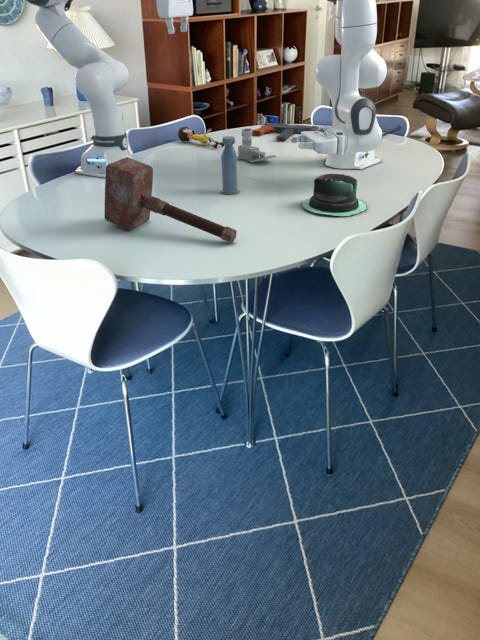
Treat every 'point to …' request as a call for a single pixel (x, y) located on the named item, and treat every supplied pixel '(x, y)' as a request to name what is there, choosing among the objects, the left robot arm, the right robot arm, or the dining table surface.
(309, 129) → the submachine gun
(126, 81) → the left robot arm
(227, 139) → the cap
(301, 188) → the dining table surface
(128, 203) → the sledgehammer
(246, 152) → the camera
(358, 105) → the right robot arm
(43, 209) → the dining table surface
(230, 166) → the bottle
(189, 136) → the figurine
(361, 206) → the round two-tone rimmed part
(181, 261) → the dining table surface
